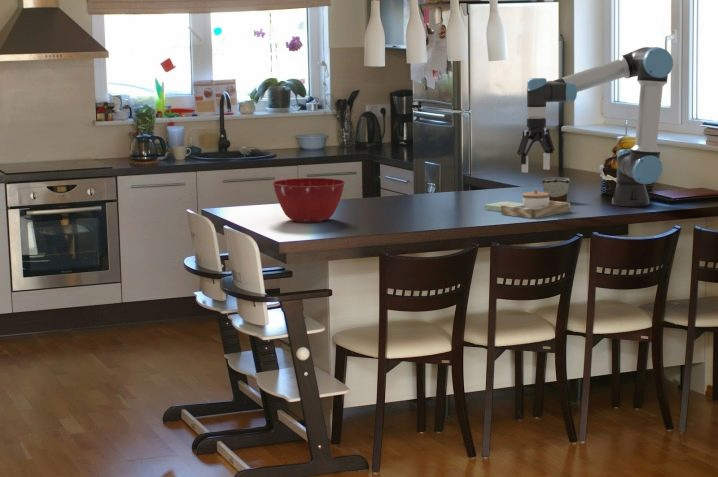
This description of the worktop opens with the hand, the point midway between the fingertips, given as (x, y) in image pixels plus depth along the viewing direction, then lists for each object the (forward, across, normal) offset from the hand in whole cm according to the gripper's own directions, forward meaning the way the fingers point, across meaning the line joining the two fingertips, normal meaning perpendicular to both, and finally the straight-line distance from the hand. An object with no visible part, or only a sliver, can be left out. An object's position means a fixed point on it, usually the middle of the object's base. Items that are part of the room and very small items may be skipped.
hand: (535, 171), depth 462 cm
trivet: (+17, 0, -15) cm, 22 cm away
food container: (+17, -31, -14) cm, 38 cm away
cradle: (+17, 0, 0) cm, 17 cm away
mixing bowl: (+17, +72, -54) cm, 92 cm away
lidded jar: (+17, 0, 0) cm, 17 cm away
